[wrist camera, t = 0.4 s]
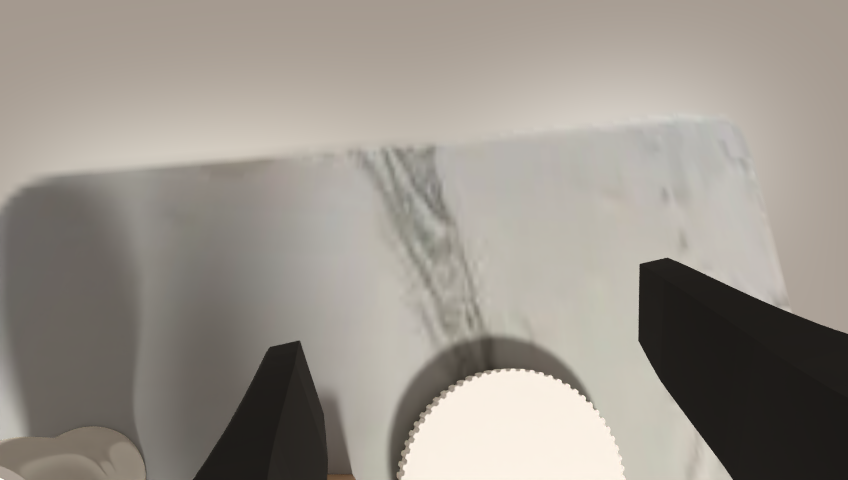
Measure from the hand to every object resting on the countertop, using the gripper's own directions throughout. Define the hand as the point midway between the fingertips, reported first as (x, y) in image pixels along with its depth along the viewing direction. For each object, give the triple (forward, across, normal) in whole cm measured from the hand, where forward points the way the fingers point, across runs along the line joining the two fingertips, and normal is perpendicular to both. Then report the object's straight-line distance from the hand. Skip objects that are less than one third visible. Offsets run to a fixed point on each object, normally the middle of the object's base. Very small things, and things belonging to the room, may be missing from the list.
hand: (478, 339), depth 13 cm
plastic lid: (+16, -3, +25) cm, 30 cm away
